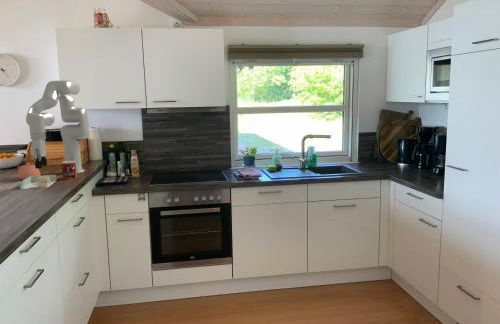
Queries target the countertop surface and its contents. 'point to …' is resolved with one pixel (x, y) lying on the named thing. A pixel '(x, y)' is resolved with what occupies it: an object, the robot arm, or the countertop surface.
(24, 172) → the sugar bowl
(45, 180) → the cube
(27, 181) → the arena
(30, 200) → the countertop surface
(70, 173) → the canned food
